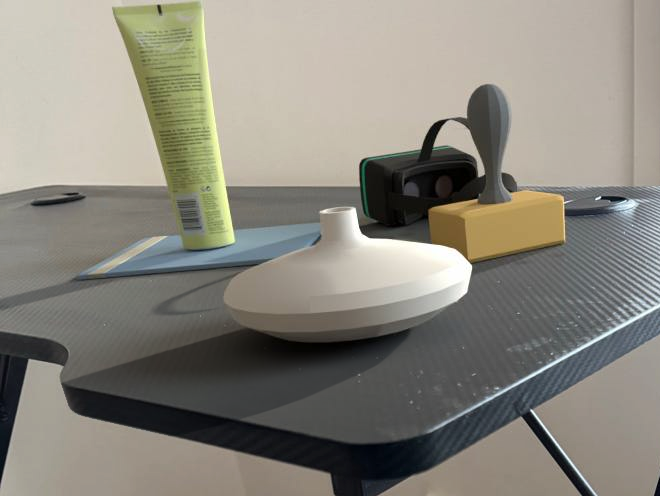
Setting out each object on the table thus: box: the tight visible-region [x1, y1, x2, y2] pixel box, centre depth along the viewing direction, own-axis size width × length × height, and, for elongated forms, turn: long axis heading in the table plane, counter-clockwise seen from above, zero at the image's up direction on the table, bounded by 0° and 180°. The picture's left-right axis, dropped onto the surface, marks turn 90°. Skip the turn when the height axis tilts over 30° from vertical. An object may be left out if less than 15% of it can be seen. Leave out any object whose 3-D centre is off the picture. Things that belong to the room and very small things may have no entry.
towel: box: [76, 221, 322, 281], centre depth 90 cm, size 20×18×1 cm
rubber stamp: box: [428, 83, 566, 264], centre depth 74 cm, size 10×6×12 cm, turn 120°
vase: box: [222, 206, 473, 343], centre depth 58 cm, size 16×16×7 cm
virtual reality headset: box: [358, 116, 518, 227], centre depth 89 cm, size 11×17×10 cm, turn 31°
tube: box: [111, 0, 235, 250], centre depth 84 cm, size 6×5×20 cm
